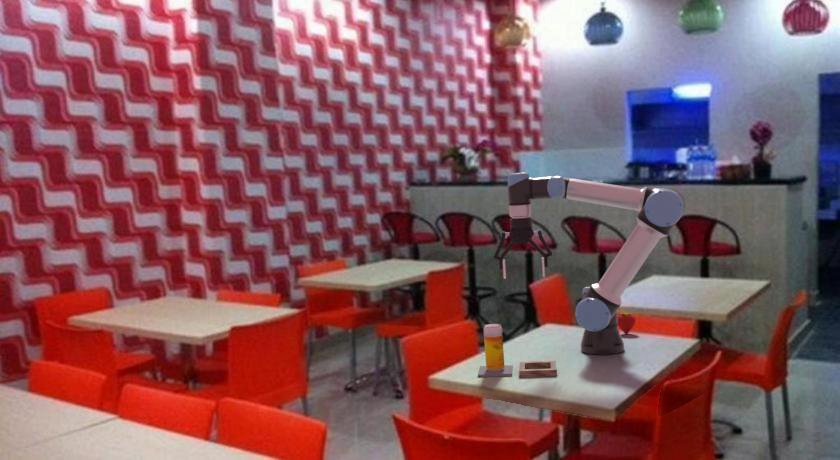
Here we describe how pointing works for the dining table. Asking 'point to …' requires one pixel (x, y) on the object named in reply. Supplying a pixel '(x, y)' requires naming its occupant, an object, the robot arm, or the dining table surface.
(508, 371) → the coaster
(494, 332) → the glass of beer
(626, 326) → the strawberry
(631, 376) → the dining table surface
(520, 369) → the tray
